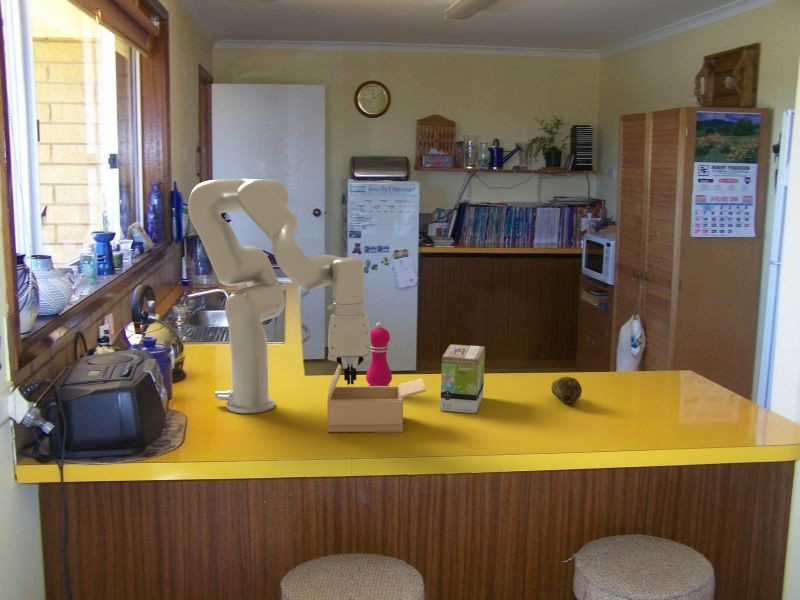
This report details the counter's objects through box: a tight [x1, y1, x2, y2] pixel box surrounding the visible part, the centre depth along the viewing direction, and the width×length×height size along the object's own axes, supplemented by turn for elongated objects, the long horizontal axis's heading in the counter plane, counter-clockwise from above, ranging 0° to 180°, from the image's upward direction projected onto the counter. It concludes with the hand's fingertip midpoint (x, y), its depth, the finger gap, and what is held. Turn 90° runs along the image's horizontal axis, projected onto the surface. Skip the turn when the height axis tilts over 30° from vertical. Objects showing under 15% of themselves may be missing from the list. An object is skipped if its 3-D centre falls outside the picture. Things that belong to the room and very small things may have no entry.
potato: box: [551, 376, 583, 404], centre depth 226 cm, size 8×13×8 cm, turn 166°
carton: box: [326, 385, 404, 433], centre depth 208 cm, size 18×13×8 cm
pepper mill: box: [365, 321, 393, 386], centre depth 233 cm, size 7×7×20 cm
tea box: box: [439, 344, 486, 414], centre depth 224 cm, size 15×10×15 cm, turn 168°
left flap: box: [327, 363, 342, 398], centre depth 206 cm, size 1×10×6 cm, turn 4°
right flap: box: [398, 377, 426, 399], centre depth 207 cm, size 1×10×6 cm
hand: (350, 382), depth 206 cm, fingers closed
